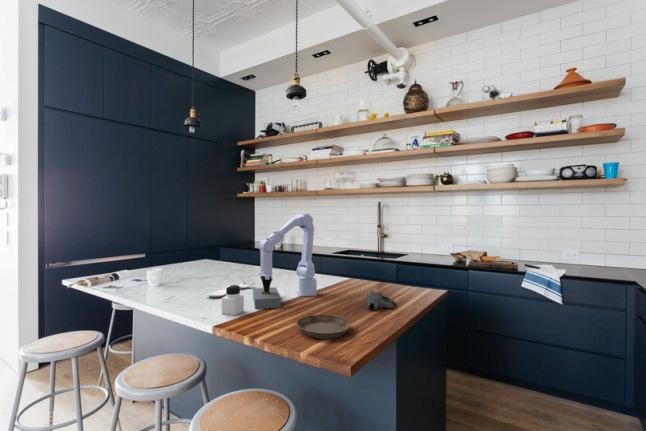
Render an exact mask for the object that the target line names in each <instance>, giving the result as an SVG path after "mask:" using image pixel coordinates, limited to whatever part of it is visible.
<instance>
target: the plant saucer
mask: <svg viewBox="0 0 646 431" xmlns="http://www.w3.org/2000/svg"><path fill="white" fill-rule="evenodd" d="M296 326H297V328H298V329H299V330H300V332H302V334H304V335H306V336H308V337H310V338H315V339H335V338H338V337H341V336H342V335H344V334H345V333H347V332H348V330H349V329H350V327H351V323H350V322H349V321H348V320H347V319H346V318H344V317H340V316H336V315H330V314H314V315H313V314H312V315H307V316H303V317H301V318H299V319H298V320H297V321H296Z"/></svg>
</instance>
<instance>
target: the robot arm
mask: <svg viewBox="0 0 646 431" xmlns="http://www.w3.org/2000/svg"><path fill="white" fill-rule="evenodd" d="M313 222H314V218H313V217H312V216H311V215H310V214H309V213H295V214H294V215H293V216H291V218H290V219H289V220H288V221H287V222H286V223H285V224H284V225H283V226H282V227H281V228H280V229H276V230H272V233H270V235H268V236H266V237H265V239H262V240H261V241H260V242H259V244H258V250H259V251H260V272H258V273H257V275H258V276H259V278H260V280H261V282H262V288H263V287H264V292H269V289H270V288H271V283H272V281H273V276H272V275H273V251H274V250H275V248H276V246H277V245H278V244H279V243H280V242H281V241H282V240H283V239H285V238H284V237H285V235H286V234H287V233H288V232H290V231H291V230H292V229H294V228H295V227H299V228H300V229H301V230H302V231H303V237H302V248H301V249H302V250H301V258H300V259H301V260H300V261H299V262H298V266H297V268H296V269H295V270H296V274H297V276H298V291H297V292H296V293H297V295H298V296H299V297H315V296H316V297H317V296H318V294H317V293H318V292H317V286H318V283H317V279H316V278H315V274H316V270H315V264H314V263H313V261H312V258H313V248H314V246H313V245H314V234H315V227H314V223H313Z"/></svg>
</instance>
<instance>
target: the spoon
mask: <svg viewBox="0 0 646 431" xmlns="http://www.w3.org/2000/svg"><path fill="white" fill-rule="evenodd" d="M255 284H256V283H255V282H250V283H248V282H247V281H244V280H243V281H242V282H241V283H240V284H239V285H238V286H239V287H240V289H247V288H249V287H252V286H254V285H255ZM206 296H208V297H211V298H220V297H224V296H226V288H224V289H221V290H217V291H212V292H207V293H206Z"/></svg>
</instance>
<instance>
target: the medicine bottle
mask: <svg viewBox="0 0 646 431" xmlns="http://www.w3.org/2000/svg"><path fill="white" fill-rule="evenodd" d="M225 289H226V294H225V295H224V296H222V297H221V314H222V315H230V316H237V315H239V314H240V313H242V312H244V311H245V308H244V307H245V304H244V303H245V296H244V295H243V294H242V295H240V293H241V292H240V291H241V290H240V289H241V288H240V287H239V285H237V284H229V285H227V286H226V287H225Z"/></svg>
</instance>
